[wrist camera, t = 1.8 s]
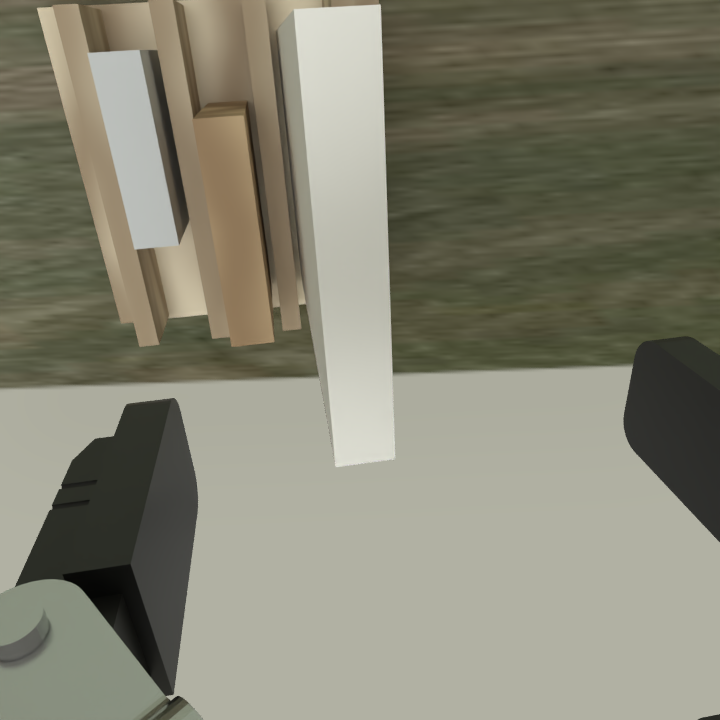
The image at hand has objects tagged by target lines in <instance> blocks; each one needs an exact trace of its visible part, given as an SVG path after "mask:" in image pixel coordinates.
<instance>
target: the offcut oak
mask: <svg viewBox="0 0 720 720" xmlns="http://www.w3.org/2000/svg"><path fill="white" fill-rule="evenodd" d="M192 122H193V127H194V133H195V139H196V145H197V150H198V156H199V162H200V168H201V173H202V179H203V185H204V190H205V196H206V202H207V208H208V213H209V219H210V225H211V231H212V236H213V242H214V248H215V254H216V259H217V265H218V271H219V276H220V282H221V288H222V294H223V299H224V305H225V311H226V317H227V322H228V328H229V334H230V340H231V345H232V347H236V346H244V345H253V344H262V343H271V342H274V324H273V303H272V283H271V276H270V268H269V260H268V253H267V245H266V238H265V230H264V222H263V215H262V207H261V200H260V192H259V184H258V177H257V169H256V162H255V154H254V146H253V139H252V131H251V124H250V116H249V108H248V101H247V100H246V101H231V102H217V103H208V104H207V105H206V106H205V107H204V108H203V109H202V110H201V111H200V112H199V113H198V114H197V115H196V116H195V117H194V118H193V119H192Z"/></svg>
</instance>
